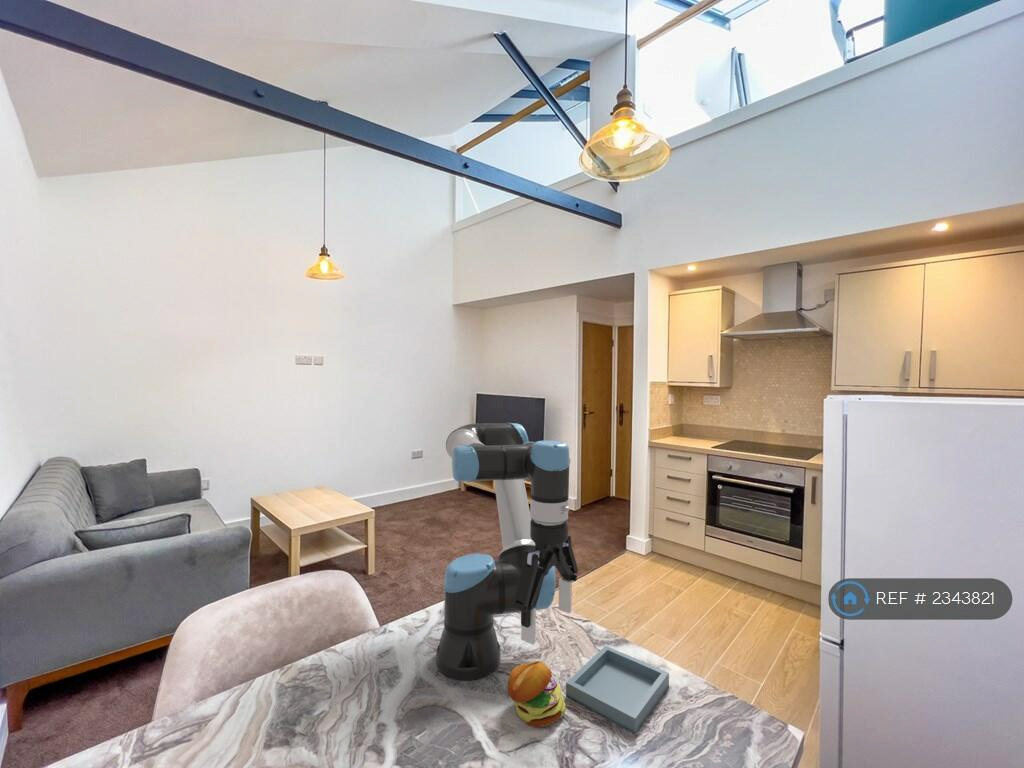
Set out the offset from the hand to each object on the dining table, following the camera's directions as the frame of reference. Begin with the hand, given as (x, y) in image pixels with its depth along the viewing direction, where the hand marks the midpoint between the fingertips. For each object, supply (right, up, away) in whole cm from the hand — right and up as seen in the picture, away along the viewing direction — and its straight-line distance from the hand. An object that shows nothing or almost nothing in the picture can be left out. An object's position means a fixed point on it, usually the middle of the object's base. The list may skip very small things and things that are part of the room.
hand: (547, 625), depth 87 cm
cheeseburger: (-2, -17, -1) cm, 17 cm away
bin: (+15, -17, +5) cm, 24 cm away
